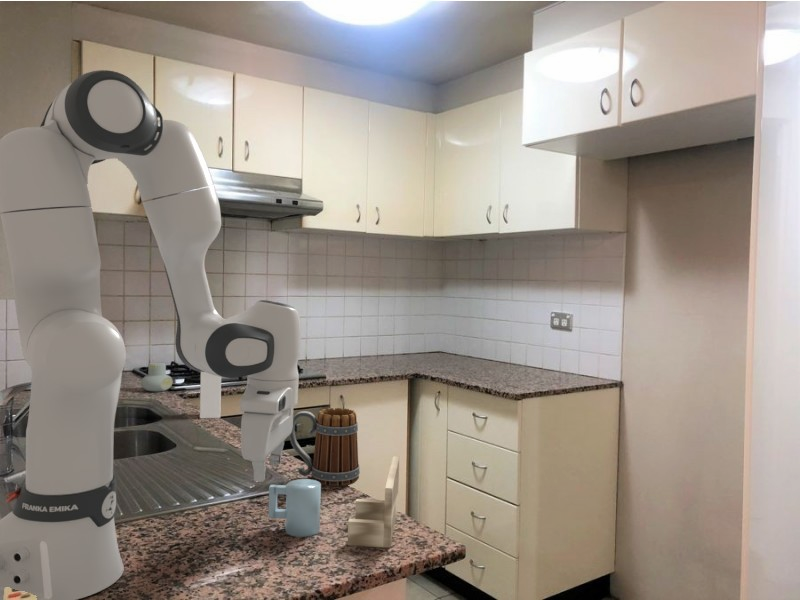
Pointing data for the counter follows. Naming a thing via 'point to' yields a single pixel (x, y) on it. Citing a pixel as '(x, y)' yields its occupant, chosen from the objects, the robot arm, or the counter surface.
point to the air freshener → (156, 378)
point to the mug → (331, 447)
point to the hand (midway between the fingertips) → (267, 472)
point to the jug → (298, 506)
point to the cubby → (376, 515)
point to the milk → (210, 396)
